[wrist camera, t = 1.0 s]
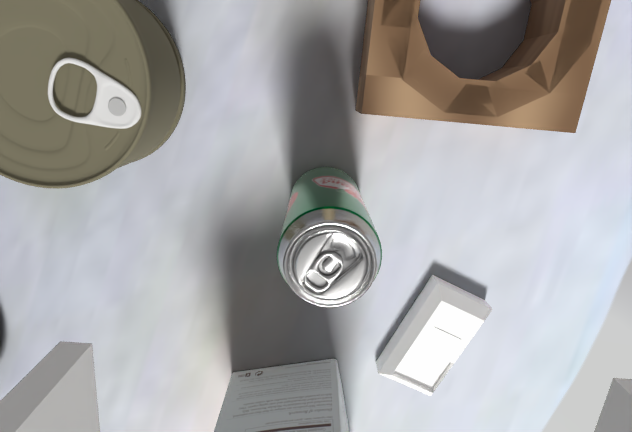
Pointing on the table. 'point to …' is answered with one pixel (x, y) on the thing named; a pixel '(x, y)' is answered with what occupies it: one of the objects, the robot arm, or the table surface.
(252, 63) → the table surface
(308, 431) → the supplement box
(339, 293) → the soda can
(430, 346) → the soap bar
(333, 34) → the table surface
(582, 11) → the square wooden ring holder
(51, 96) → the can
